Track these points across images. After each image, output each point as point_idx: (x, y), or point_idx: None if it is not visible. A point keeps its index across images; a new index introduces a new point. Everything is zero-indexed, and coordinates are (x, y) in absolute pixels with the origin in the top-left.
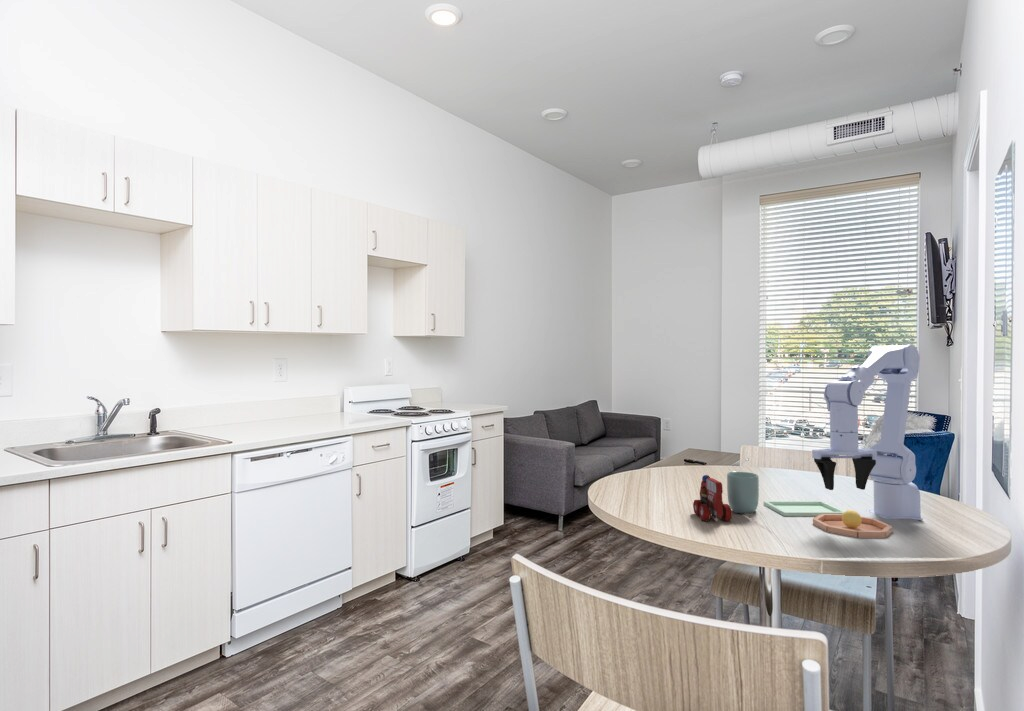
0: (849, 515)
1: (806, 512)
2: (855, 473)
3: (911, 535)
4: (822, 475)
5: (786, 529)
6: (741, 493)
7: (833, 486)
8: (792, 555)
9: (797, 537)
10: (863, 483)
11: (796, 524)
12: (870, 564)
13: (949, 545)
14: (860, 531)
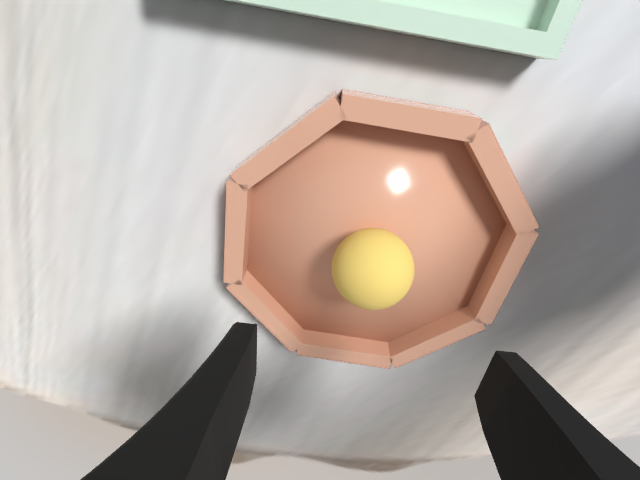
0: (345, 297)
1: (289, 9)
2: (577, 456)
3: (530, 324)
4: (172, 409)
5: (96, 187)
6: None
7: (248, 400)
8: (35, 389)
9: (104, 278)
10: (492, 449)
11: (176, 120)
12: None
13: None
14: (307, 351)
